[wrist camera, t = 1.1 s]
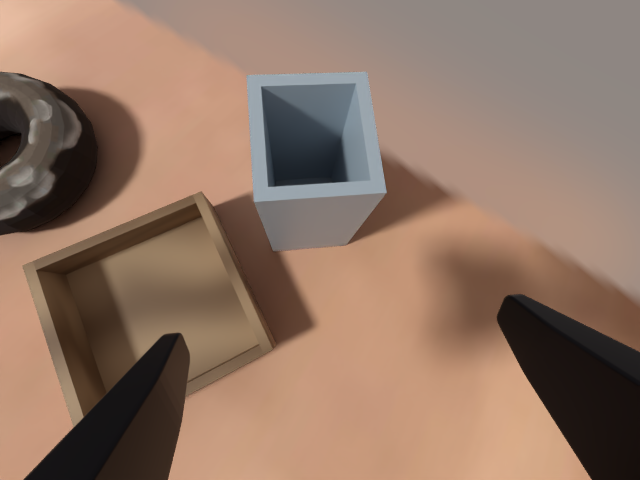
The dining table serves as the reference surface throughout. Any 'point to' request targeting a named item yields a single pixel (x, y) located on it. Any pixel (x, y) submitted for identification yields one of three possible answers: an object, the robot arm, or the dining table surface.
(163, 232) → the shallow brown tray
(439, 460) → the dining table surface
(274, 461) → the dining table surface
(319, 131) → the tall grey bin
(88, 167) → the donut
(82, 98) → the dining table surface
